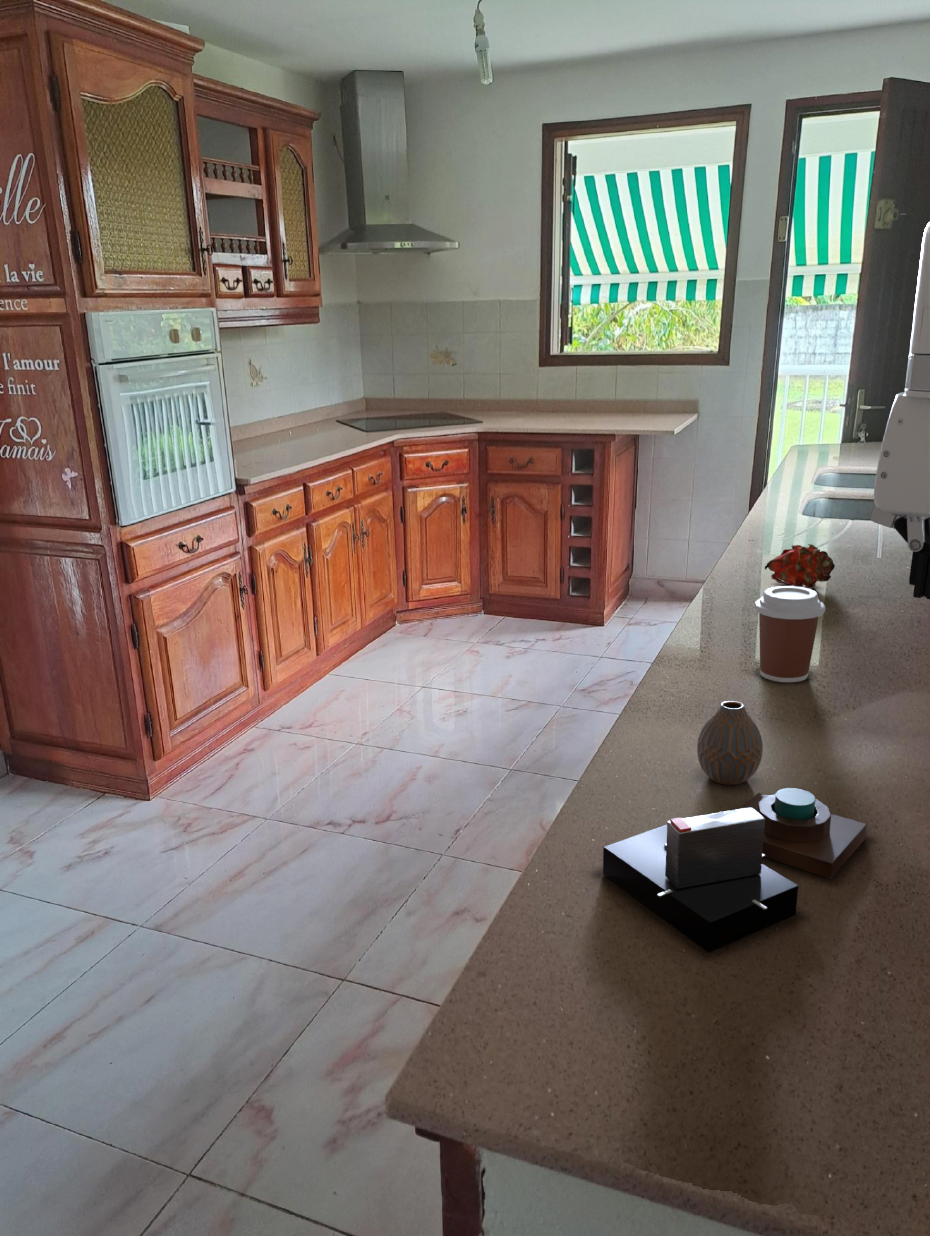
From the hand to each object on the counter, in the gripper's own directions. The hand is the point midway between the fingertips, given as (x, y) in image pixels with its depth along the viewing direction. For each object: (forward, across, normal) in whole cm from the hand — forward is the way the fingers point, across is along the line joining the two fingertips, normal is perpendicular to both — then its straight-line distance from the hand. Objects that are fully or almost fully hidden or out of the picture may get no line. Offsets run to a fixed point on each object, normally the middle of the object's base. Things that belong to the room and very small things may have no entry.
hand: (928, 594), depth 84 cm
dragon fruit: (+25, +43, -82) cm, 96 cm away
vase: (+25, +19, -4) cm, 32 cm away
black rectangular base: (+25, +11, +19) cm, 33 cm away
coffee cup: (+25, +27, -38) cm, 53 cm away
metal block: (+22, +9, +20) cm, 31 cm away
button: (+22, +8, +5) cm, 24 cm away
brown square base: (+25, +8, +5) cm, 27 cm away
